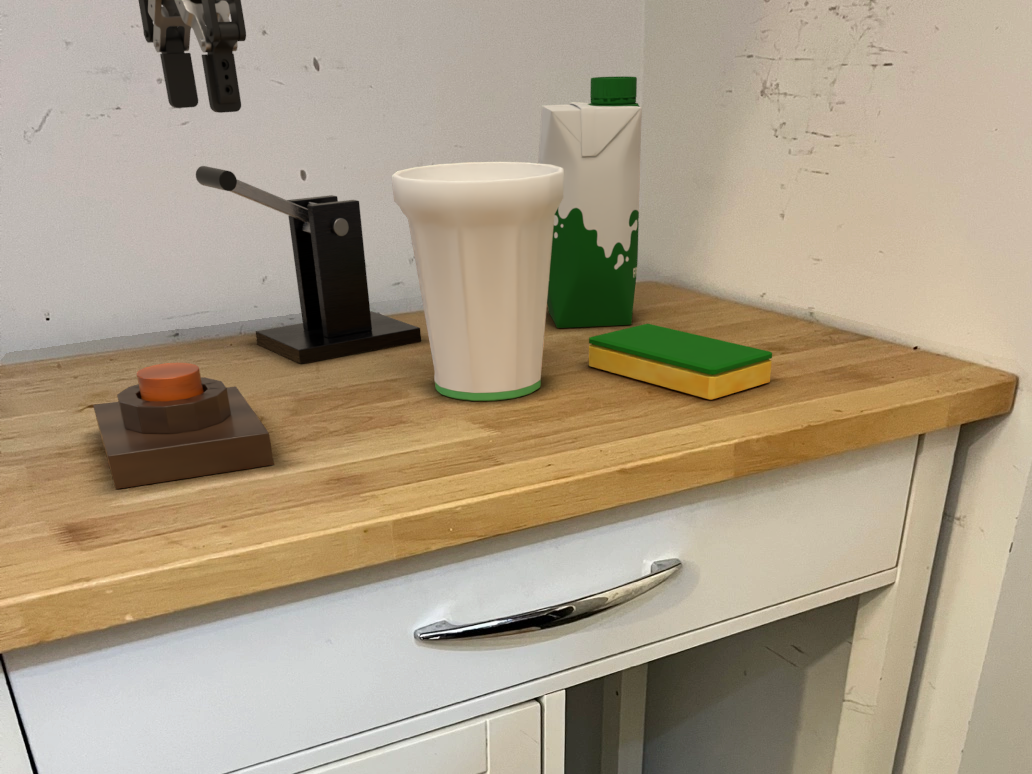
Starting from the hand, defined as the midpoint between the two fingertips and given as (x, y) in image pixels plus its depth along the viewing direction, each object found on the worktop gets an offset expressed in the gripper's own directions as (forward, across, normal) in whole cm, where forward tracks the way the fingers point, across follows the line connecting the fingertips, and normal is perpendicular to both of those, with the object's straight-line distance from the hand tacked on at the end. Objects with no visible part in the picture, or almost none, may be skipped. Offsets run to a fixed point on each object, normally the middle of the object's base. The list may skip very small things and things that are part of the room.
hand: (205, 109), depth 84 cm
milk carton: (+19, +8, +32) cm, 38 cm away
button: (+16, +20, -13) cm, 28 cm away
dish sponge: (+19, +28, +25) cm, 42 cm away
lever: (+8, 0, +4) cm, 9 cm away
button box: (+19, +20, -13) cm, 30 cm away
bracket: (+19, 0, +9) cm, 21 cm away
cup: (+19, +20, +12) cm, 30 cm away
